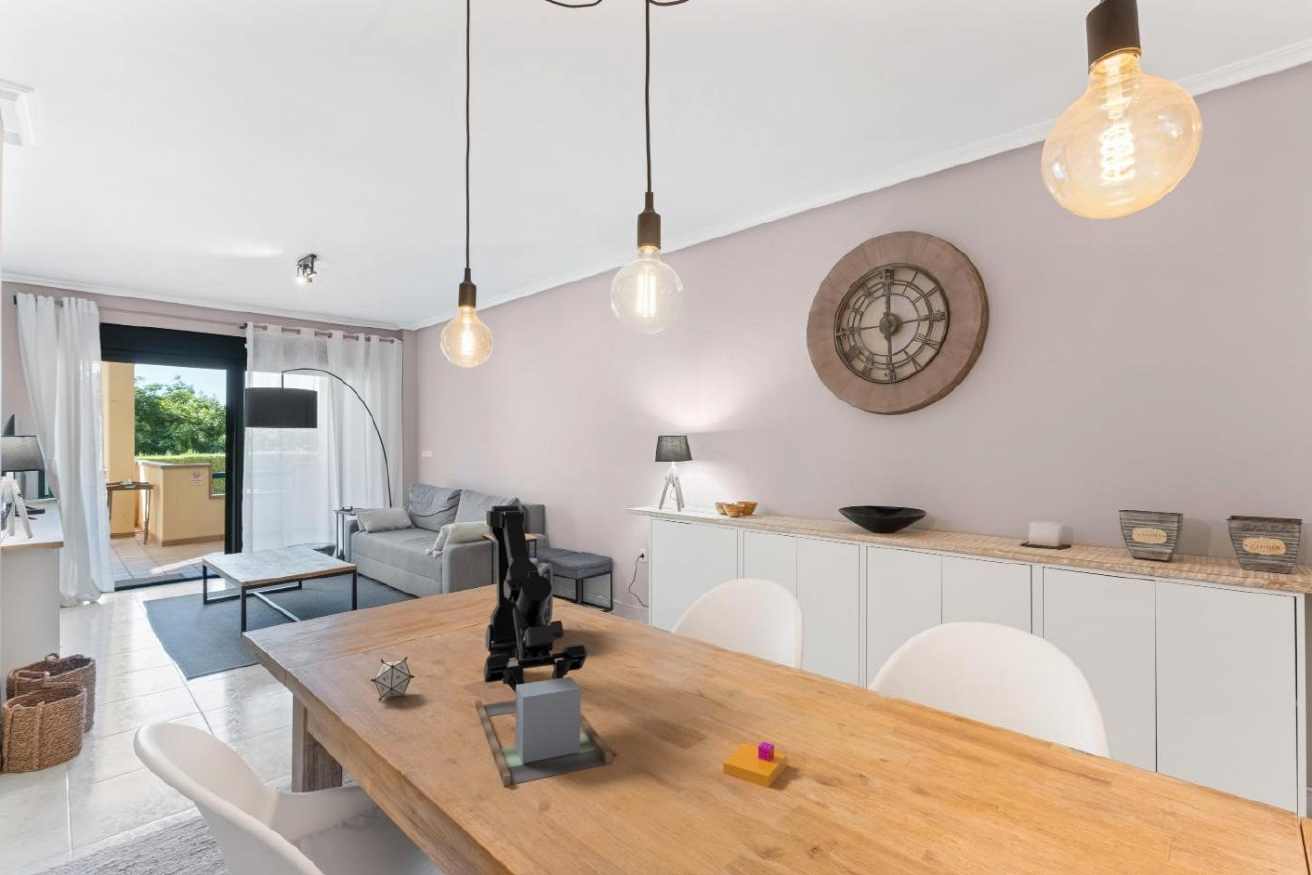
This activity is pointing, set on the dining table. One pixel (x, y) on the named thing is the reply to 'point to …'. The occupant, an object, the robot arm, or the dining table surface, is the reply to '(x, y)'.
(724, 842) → the dining table surface
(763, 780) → the flat orange slab
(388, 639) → the dining table surface
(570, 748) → the slate block
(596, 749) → the channel
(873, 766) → the dining table surface
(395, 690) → the game die
